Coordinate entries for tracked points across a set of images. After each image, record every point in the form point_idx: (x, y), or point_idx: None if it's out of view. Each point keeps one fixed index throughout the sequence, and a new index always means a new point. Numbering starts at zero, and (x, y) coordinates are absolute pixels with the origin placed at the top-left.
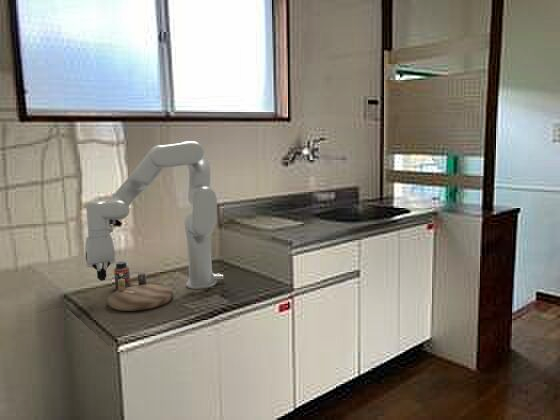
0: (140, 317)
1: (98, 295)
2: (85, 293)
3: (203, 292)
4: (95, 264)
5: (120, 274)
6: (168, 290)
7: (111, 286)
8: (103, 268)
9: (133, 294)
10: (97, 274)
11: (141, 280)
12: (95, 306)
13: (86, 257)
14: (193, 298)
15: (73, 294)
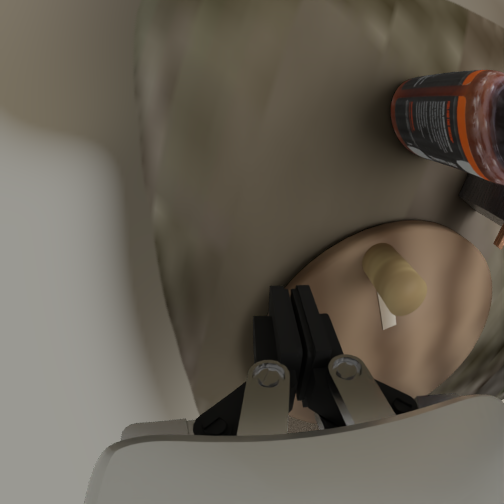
0: (298, 428)
1: (276, 119)
2: (222, 29)
3: (491, 354)
4: (247, 433)
5: (467, 167)
6: (455, 361)
7: (386, 24)
8: (317, 408)
9: (375, 345)
10: (254, 345)
11: (493, 218)
12: (212, 288)
13: (100, 498)
14: (454, 380)
15: (160, 10)
